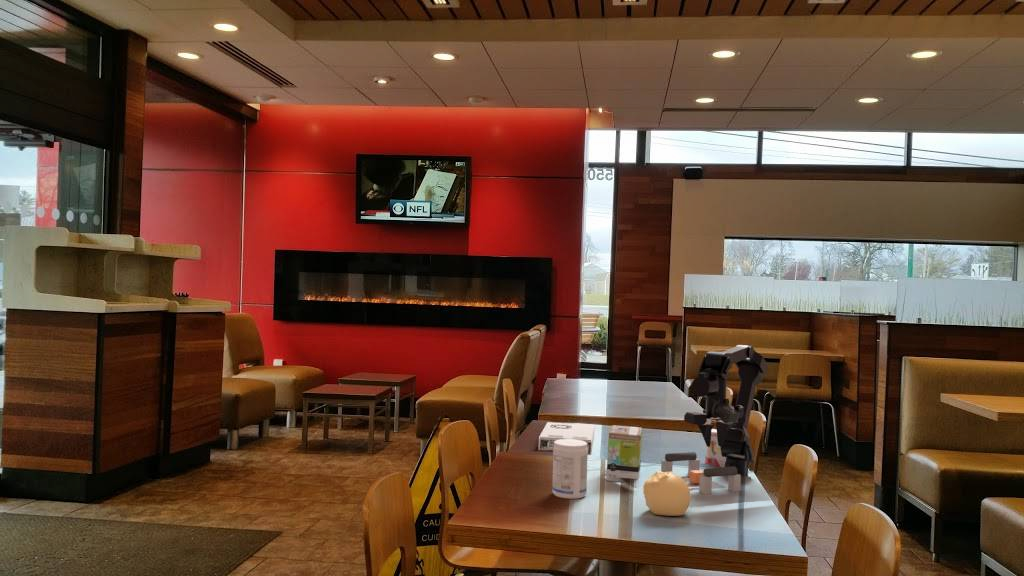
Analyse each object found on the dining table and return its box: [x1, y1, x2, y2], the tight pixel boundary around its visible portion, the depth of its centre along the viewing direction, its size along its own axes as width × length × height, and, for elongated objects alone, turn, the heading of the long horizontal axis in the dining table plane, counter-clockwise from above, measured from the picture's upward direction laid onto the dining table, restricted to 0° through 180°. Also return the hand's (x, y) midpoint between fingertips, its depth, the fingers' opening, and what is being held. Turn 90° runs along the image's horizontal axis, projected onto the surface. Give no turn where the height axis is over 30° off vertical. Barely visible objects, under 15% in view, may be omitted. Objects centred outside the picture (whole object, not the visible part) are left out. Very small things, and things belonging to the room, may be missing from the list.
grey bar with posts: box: [698, 466, 742, 495], centre depth 208 cm, size 12×2×8 cm, turn 112°
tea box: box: [605, 424, 643, 483], centre depth 226 cm, size 15×10×15 cm, turn 168°
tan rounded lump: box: [642, 470, 691, 517], centre depth 190 cm, size 11×12×11 cm
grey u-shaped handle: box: [660, 451, 701, 474], centre depth 225 cm, size 12×2×8 cm, turn 112°
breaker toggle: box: [688, 469, 704, 483], centre depth 216 cm, size 3×3×3 cm
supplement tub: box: [551, 439, 588, 500], centre depth 204 cm, size 10×10×15 cm
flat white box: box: [537, 421, 596, 455], centre depth 275 cm, size 19×33×5 cm, turn 172°
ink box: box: [704, 428, 726, 468], centre depth 246 cm, size 9×5×12 cm, turn 81°
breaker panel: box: [680, 476, 727, 491], centre depth 215 cm, size 16×13×2 cm
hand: (714, 446), depth 219 cm, fingers open, 4 cm apart
